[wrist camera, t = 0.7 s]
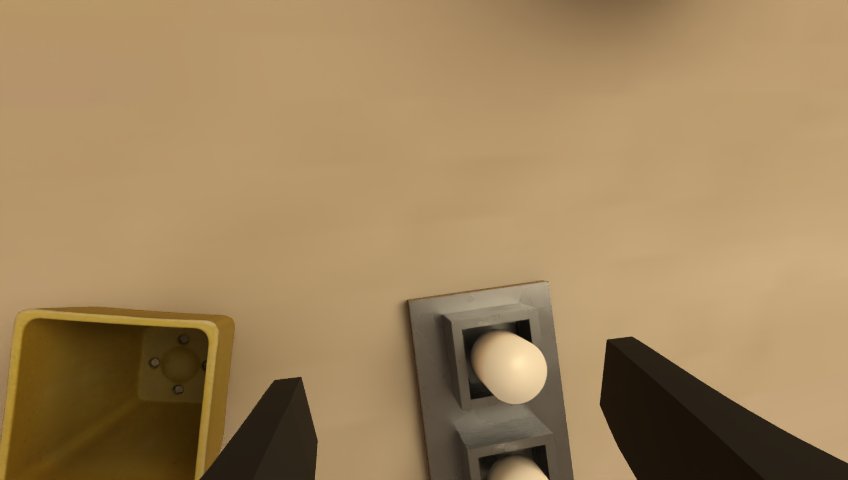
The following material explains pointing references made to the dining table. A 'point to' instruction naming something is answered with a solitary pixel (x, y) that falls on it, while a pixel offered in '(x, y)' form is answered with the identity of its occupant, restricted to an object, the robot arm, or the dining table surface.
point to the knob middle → (515, 469)
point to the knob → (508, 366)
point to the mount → (468, 396)
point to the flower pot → (114, 394)
